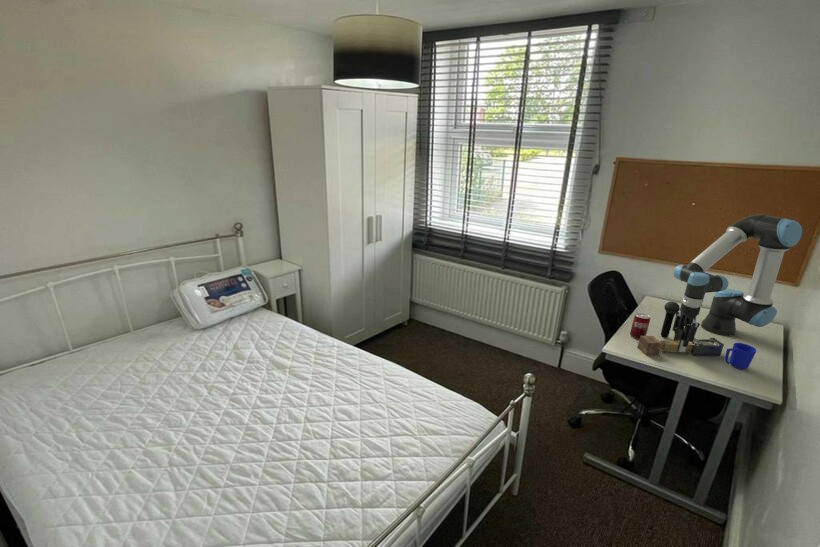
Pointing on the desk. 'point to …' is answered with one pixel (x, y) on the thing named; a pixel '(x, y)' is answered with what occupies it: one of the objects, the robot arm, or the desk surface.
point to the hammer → (677, 341)
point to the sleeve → (707, 348)
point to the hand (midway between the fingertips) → (678, 348)
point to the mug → (740, 355)
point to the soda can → (640, 325)
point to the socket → (649, 345)
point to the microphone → (669, 317)
